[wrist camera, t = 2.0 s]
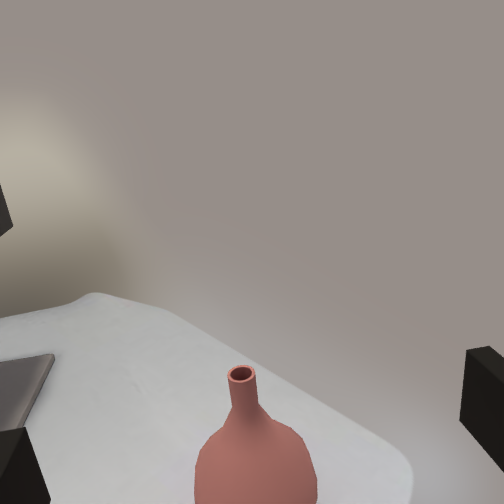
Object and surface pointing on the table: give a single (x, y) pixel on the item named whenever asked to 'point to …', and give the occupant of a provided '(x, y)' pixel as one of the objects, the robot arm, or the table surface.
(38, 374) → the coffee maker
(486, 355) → the robot arm
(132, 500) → the table surface
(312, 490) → the pink vase
